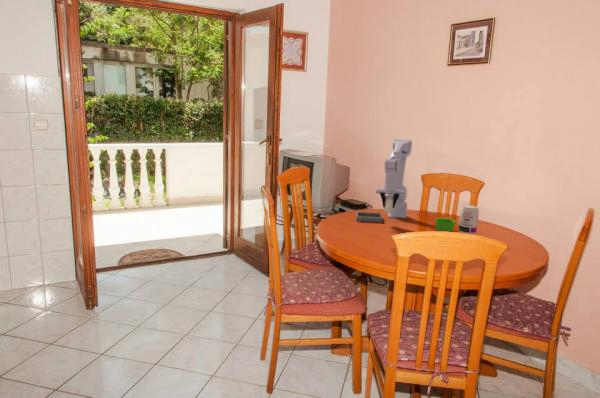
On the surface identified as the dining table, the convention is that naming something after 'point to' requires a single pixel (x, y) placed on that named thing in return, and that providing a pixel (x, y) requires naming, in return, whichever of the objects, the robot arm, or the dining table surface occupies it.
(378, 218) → the tray
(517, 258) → the dining table surface
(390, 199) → the shaker
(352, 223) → the dining table surface
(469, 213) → the supplement can
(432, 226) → the dining table surface
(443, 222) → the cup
